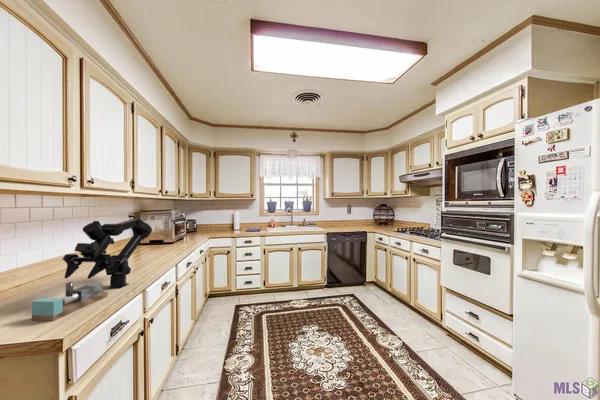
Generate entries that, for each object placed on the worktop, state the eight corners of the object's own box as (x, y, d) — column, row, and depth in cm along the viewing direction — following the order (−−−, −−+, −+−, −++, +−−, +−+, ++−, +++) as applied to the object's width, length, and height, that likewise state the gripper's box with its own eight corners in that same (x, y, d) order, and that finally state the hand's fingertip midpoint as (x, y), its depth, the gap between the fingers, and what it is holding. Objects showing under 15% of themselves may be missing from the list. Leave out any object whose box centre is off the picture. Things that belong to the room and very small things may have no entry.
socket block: (41, 311, 91) (42, 297, 91) (62, 311, 91) (62, 298, 91) (31, 315, 88) (32, 301, 88) (53, 315, 87) (53, 301, 88)
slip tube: (87, 293, 107) (87, 275, 107) (93, 294, 107) (94, 276, 107) (55, 306, 93) (56, 286, 94) (63, 306, 93) (63, 286, 93)
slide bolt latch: (90, 295, 111) (91, 281, 111) (107, 296, 111) (108, 282, 111) (31, 320, 88) (32, 302, 88) (53, 320, 87) (53, 303, 88)
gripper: (67, 235, 106) (39, 267, 95) (110, 235, 106) (88, 267, 95) (82, 250, 114) (58, 281, 103) (123, 250, 114) (104, 282, 103)
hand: (76, 278), depth 101 cm, fingers open, 9 cm apart
